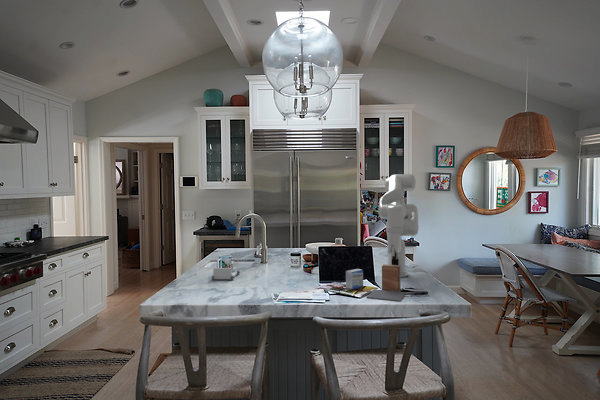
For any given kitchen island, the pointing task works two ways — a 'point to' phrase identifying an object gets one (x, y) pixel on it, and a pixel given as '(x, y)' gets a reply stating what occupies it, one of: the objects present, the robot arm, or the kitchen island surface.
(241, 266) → the kitchen island surface
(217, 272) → the grey desk organizer
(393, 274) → the brown wooden block
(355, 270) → the medicine box
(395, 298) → the charcoal mat
